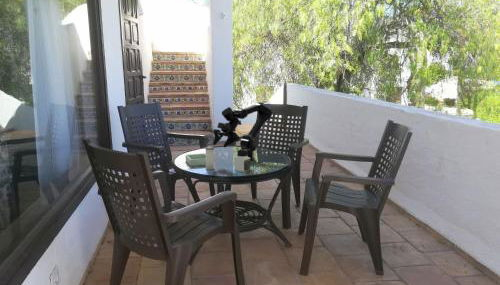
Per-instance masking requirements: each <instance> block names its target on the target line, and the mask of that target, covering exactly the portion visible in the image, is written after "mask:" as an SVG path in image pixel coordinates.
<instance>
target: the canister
mask: <svg viewBox="0 0 500 285" xmlns="http://www.w3.org/2000/svg"><path fill="white" fill-rule="evenodd" d="M204 148H205V154H206V166H205V170H206V171H207V170H208V171H212V170H215V147H214V146H206V147H204Z"/></svg>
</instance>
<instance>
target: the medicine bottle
mask: <svg viewBox="0 0 500 285" xmlns="http://www.w3.org/2000/svg"><path fill="white" fill-rule="evenodd" d="M236 156H237V157H235V158H234V159H233V165H234V167H233V170H234V171H237V172H244V173H245V172H247V171H250V170H251V169H252V168H251V167H252V166H251V165H252V164H251V163H252V162H251V158H249V157H248V151H247V150H244V149H241V148H240V149H238V150H237V154H236Z"/></svg>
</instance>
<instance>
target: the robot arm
mask: <svg viewBox="0 0 500 285" xmlns="http://www.w3.org/2000/svg"><path fill="white" fill-rule="evenodd" d="M255 112H256V113H257V120H256V121H255V122H254V124H253V126H252V128H251V129H250V130H249V132H248V133H247V135H246V134H245V135H243V136H242V137H241V139H240V136H239V134H238V133H237V132H236V129H237V127H238V125H239V126H242V121H241V120H244V119H245V118H248V115H250V114H253V113H255ZM221 115H222V117H224V119H225V120H226V121H227V122H225V123H224V122H218V124H217V127H216V128H215V129H214V128H213V131H212V133H213V135H214V138H213V142H212V145H213V146H216V145H217V144H218V143H219V142H220V140H222V138H223V137H226V140H225V142H224V144H223V148H226V147H228V146H229V145H232V144H234V143H236V142H238V141H239V140H240V141H239V145H240V150H241V149H244V150H247V151H248V157H249V158H251V161H253V160H254V159H255V156H254V155H255V154H254V152H255V151H256V150H257V147H256V146H255V138H256V136H257V135H258V134H259V132H260V130H261V129H262V128H263V127H262V126H263V125H264V124H265V122H267V121H269V120H270V119H271V117H272V115H273V112H272V110H271V109H270V108H269V107H266V106H265V105H263V104H262V103H255V104H253V105H250V106H247V107H244V108H237V109H236V108H235V109H234V110H233V109H232V107H229V106H227V108H225V109H224V110H222V111H221ZM217 128H218V129H217Z"/></svg>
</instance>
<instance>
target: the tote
mask: <svg viewBox="0 0 500 285" xmlns="http://www.w3.org/2000/svg"><path fill="white" fill-rule="evenodd" d="M185 163H186V164H187V165H188V166H189V167H190V168H195V167H196V168H197V167H199V168H200V167H206V152H205V153H204V152H203V153H193V154H192V153H191V154H190V153H189V154H185Z"/></svg>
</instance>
